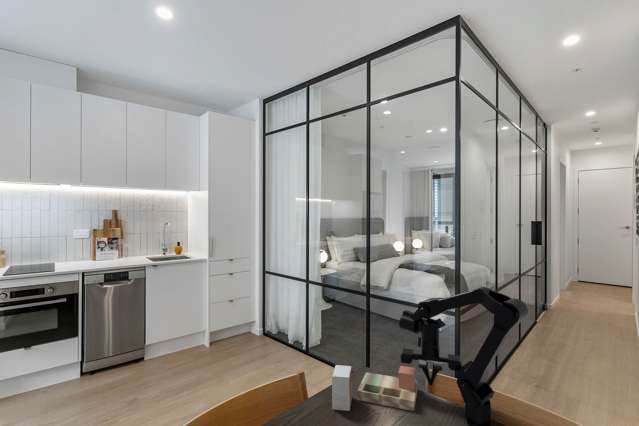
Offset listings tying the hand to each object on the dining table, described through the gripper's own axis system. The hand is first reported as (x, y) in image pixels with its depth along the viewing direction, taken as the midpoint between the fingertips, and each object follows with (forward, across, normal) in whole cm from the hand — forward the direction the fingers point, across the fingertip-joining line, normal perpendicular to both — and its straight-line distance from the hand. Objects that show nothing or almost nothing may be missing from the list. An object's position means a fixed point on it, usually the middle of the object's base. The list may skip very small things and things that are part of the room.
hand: (430, 385), depth 106 cm
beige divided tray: (+4, +14, +2) cm, 14 cm away
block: (+1, +8, 0) cm, 8 cm away
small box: (+5, +27, +12) cm, 30 cm away
